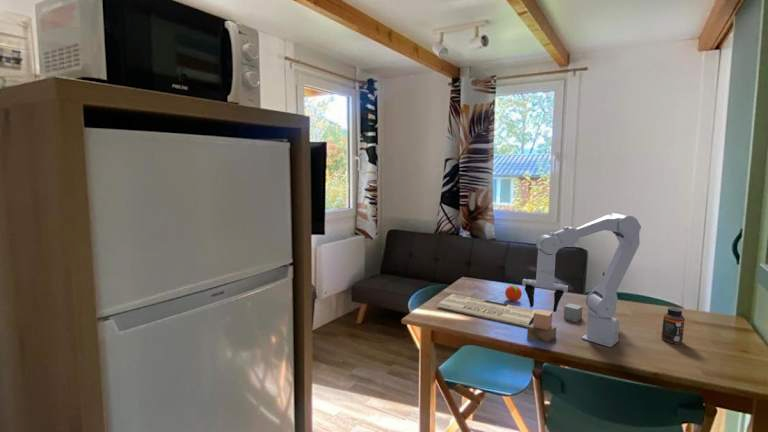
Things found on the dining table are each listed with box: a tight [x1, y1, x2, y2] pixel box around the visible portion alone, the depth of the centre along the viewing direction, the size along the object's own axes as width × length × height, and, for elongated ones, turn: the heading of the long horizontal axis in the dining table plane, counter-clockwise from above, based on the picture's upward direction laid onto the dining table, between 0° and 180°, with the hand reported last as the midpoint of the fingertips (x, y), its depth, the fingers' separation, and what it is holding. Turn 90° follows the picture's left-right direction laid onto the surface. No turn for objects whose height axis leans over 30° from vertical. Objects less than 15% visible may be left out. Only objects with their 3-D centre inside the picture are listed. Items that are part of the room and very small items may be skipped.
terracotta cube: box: [532, 308, 553, 330], centre depth 145 cm, size 5×5×5 cm
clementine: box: [504, 285, 523, 302], centre depth 183 cm, size 8×7×7 cm
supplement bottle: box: [661, 306, 686, 344], centre depth 143 cm, size 6×6×11 cm
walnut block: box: [526, 323, 557, 344], centre depth 145 cm, size 7×7×4 cm
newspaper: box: [437, 293, 537, 328], centre depth 170 cm, size 37×19×3 cm, turn 57°
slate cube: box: [563, 302, 583, 322], centre depth 164 cm, size 5×5×5 cm
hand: (543, 308), depth 144 cm, fingers open, 7 cm apart
